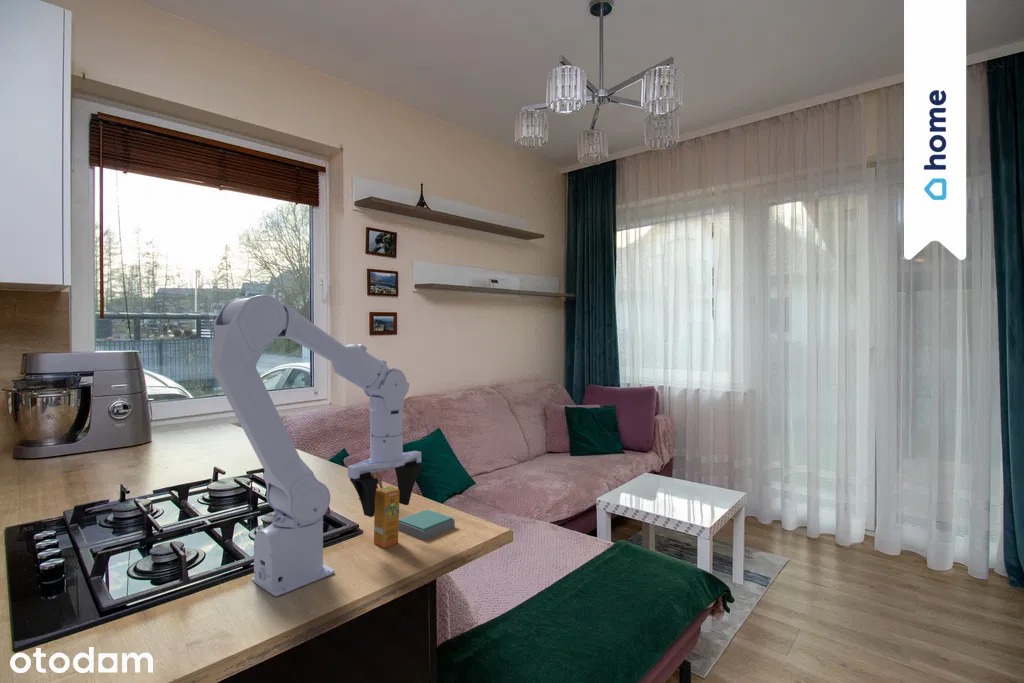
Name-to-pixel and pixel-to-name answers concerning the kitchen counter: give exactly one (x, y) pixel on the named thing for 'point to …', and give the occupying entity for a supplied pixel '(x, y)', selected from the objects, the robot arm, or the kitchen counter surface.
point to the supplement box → (386, 516)
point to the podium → (426, 524)
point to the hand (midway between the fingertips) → (387, 509)
